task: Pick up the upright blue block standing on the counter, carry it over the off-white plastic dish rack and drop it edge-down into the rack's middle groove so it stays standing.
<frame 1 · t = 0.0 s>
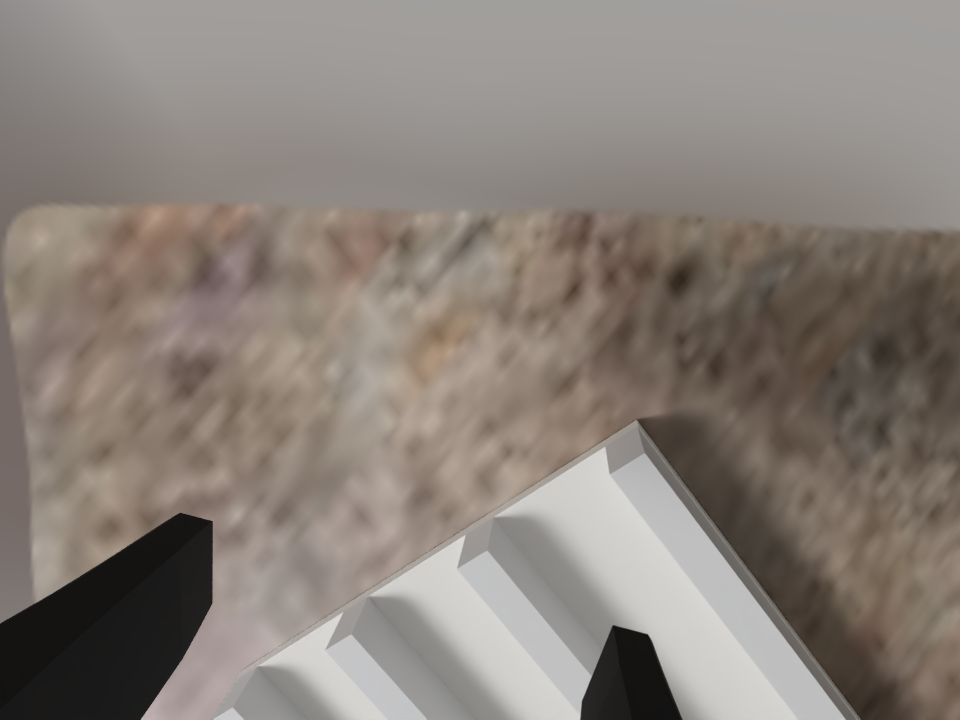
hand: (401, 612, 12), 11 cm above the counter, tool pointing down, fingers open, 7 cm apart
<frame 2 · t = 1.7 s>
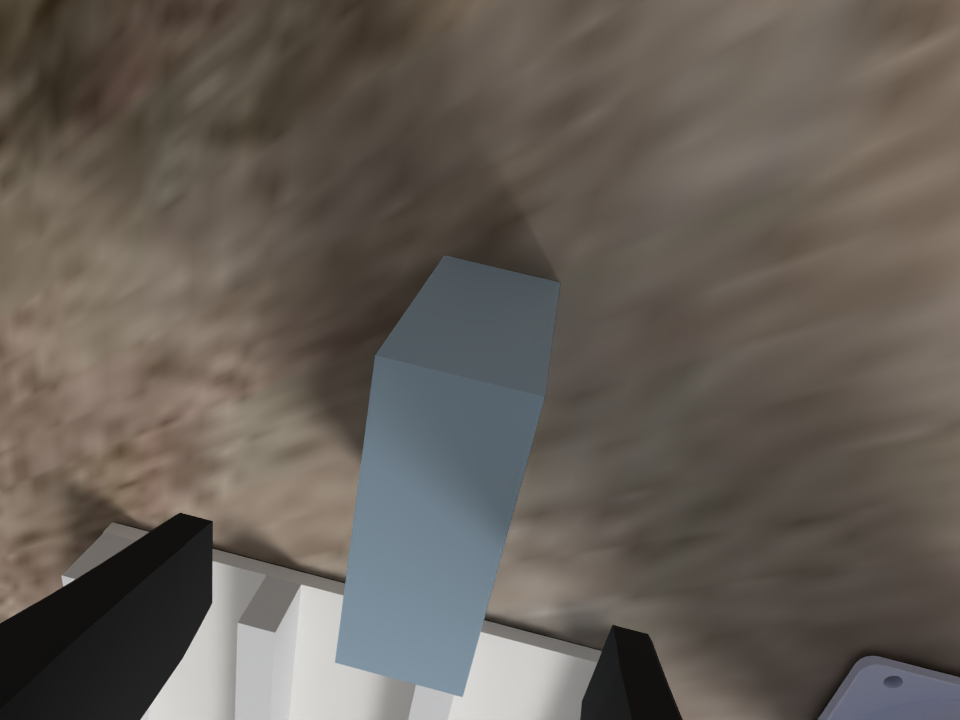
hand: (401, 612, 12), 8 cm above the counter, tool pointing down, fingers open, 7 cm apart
blue block: (473, 401, 18), on the counter
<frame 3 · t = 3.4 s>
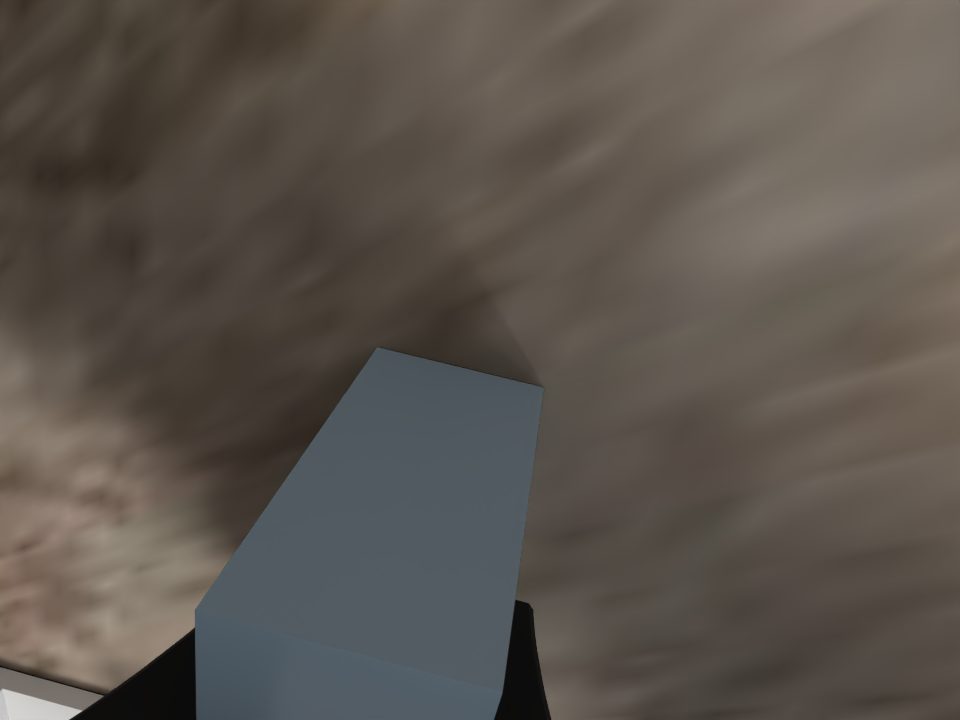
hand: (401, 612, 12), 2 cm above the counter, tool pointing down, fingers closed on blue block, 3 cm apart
blue block: (425, 538, 13), on the counter, touching gripper
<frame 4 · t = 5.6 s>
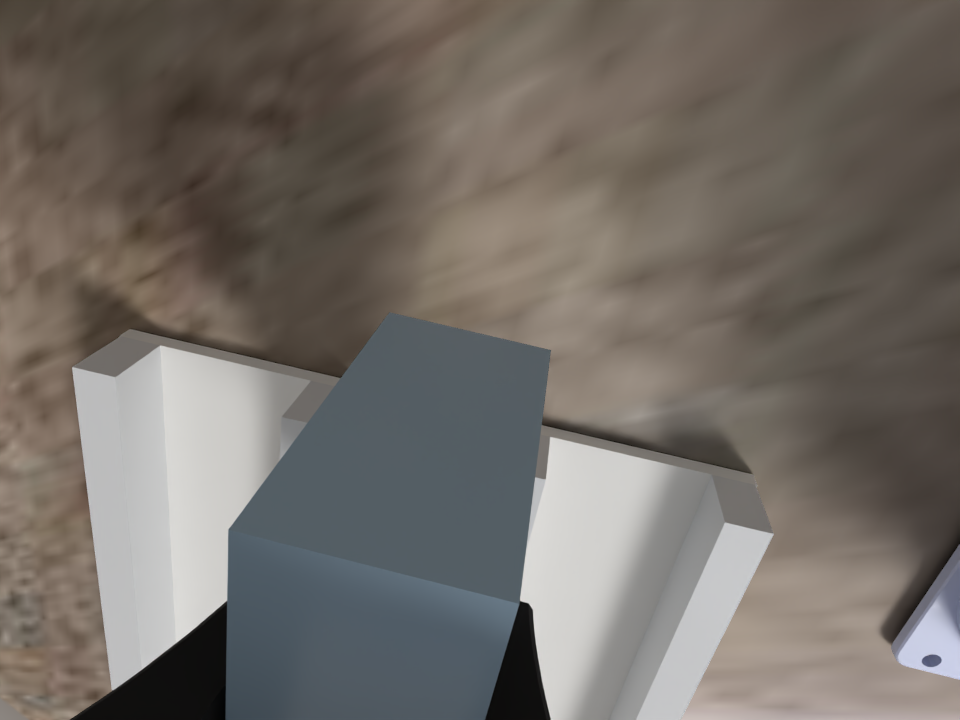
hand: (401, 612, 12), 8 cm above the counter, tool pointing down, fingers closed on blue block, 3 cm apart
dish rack: (396, 618, 23), on the counter
blue block: (435, 503, 14), point 5 cm above the counter, touching gripper
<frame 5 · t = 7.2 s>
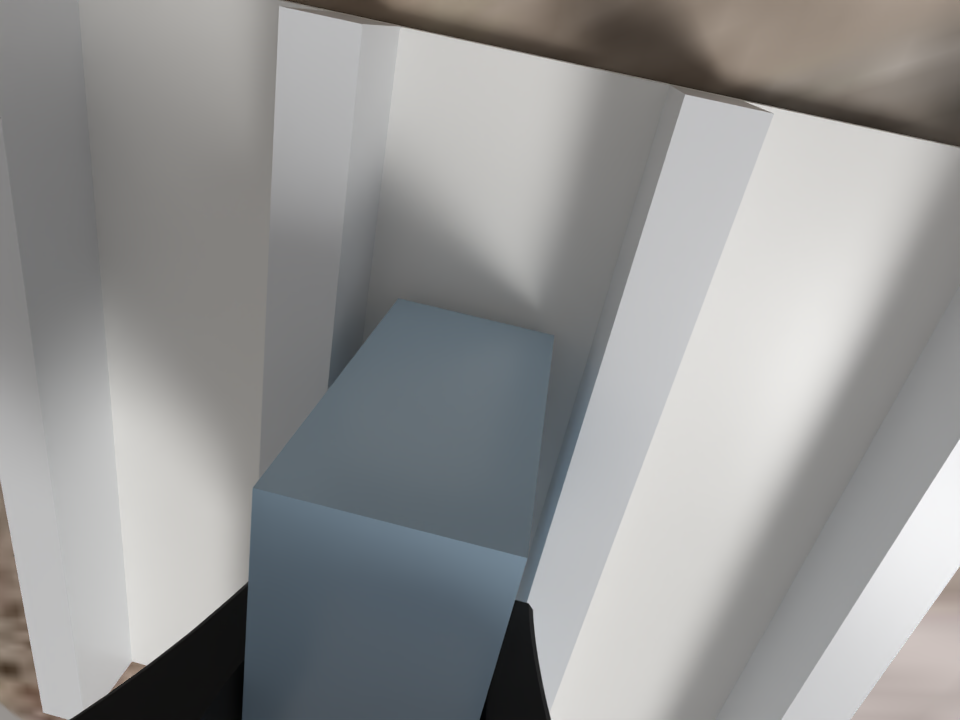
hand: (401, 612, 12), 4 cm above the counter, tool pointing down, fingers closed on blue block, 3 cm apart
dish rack: (448, 474, 15), on the counter
blue block: (440, 486, 14), point 1 cm above the counter, touching gripper
when the fingers open (4 cm above the counter, at t = 8.1 s): blue block stays where it is, resting on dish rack.
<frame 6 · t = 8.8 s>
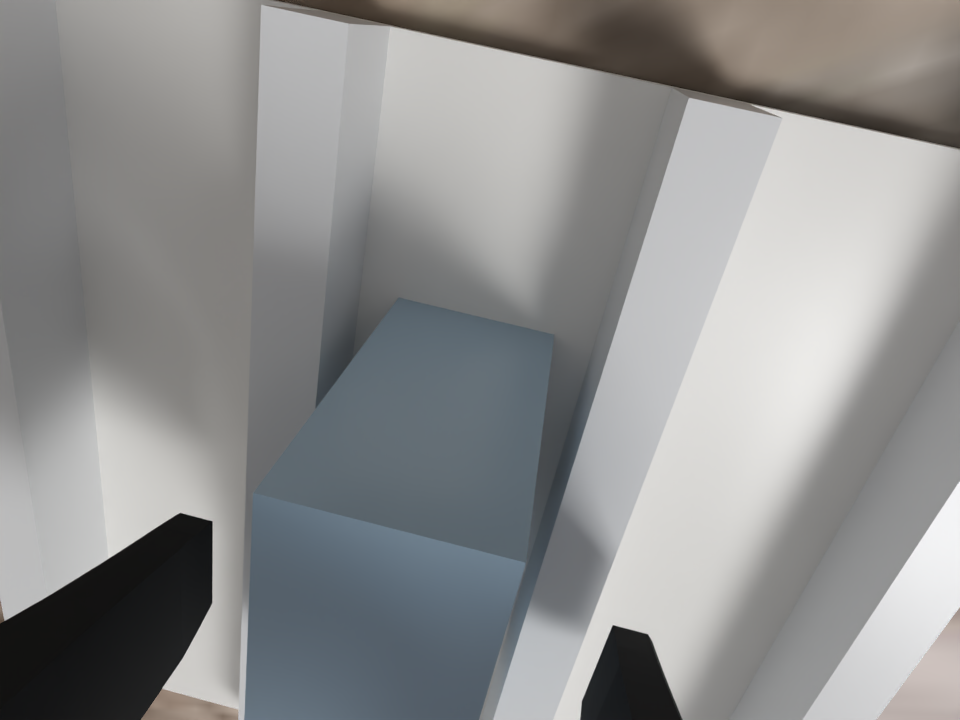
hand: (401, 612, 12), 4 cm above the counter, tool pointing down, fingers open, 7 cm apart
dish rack: (442, 488, 15), on the counter
blue block: (441, 483, 14), resting on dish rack
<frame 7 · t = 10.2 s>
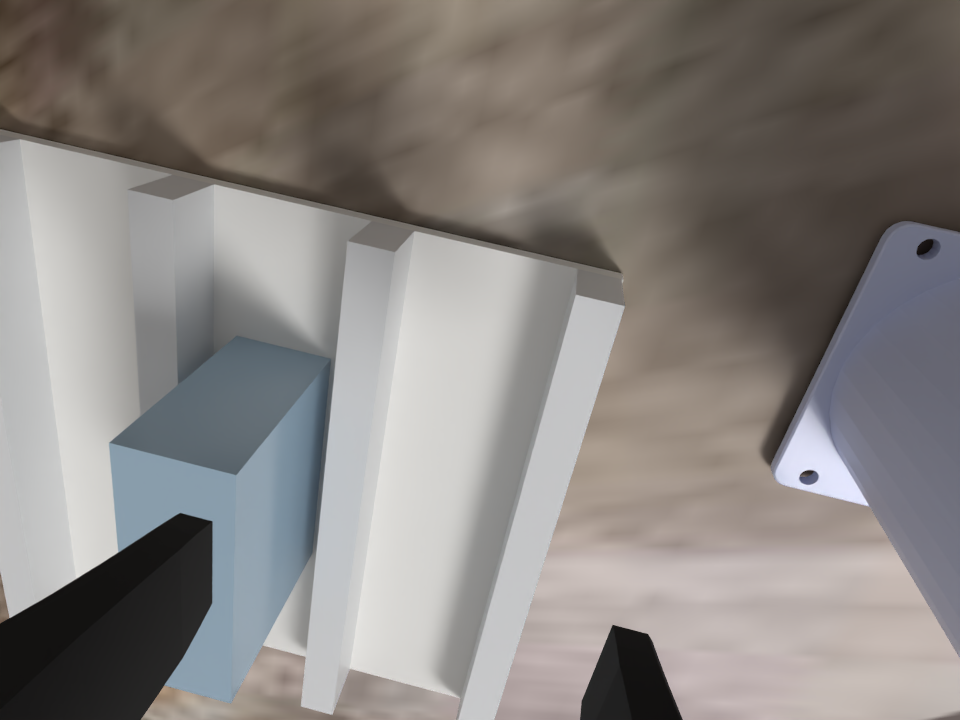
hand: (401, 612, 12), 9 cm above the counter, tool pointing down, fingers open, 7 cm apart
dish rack: (283, 457, 23), on the counter
blue block: (277, 453, 22), resting on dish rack
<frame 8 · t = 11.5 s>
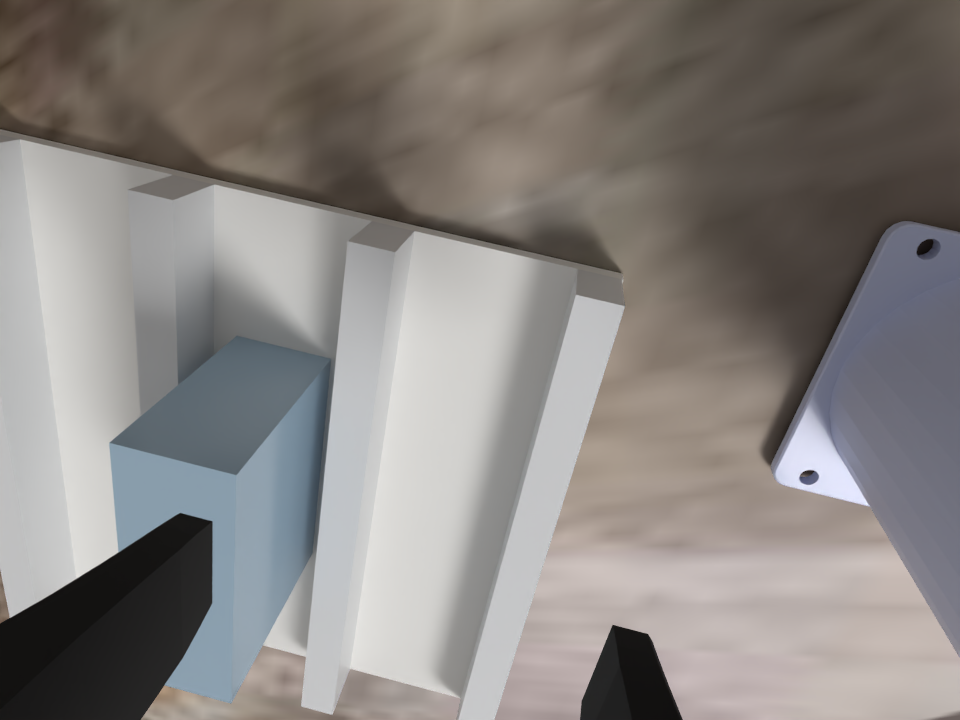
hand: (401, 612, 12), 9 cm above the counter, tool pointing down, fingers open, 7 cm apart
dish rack: (283, 457, 23), on the counter
blue block: (277, 453, 22), resting on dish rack
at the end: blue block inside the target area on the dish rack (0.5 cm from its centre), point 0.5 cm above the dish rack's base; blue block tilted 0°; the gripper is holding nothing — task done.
